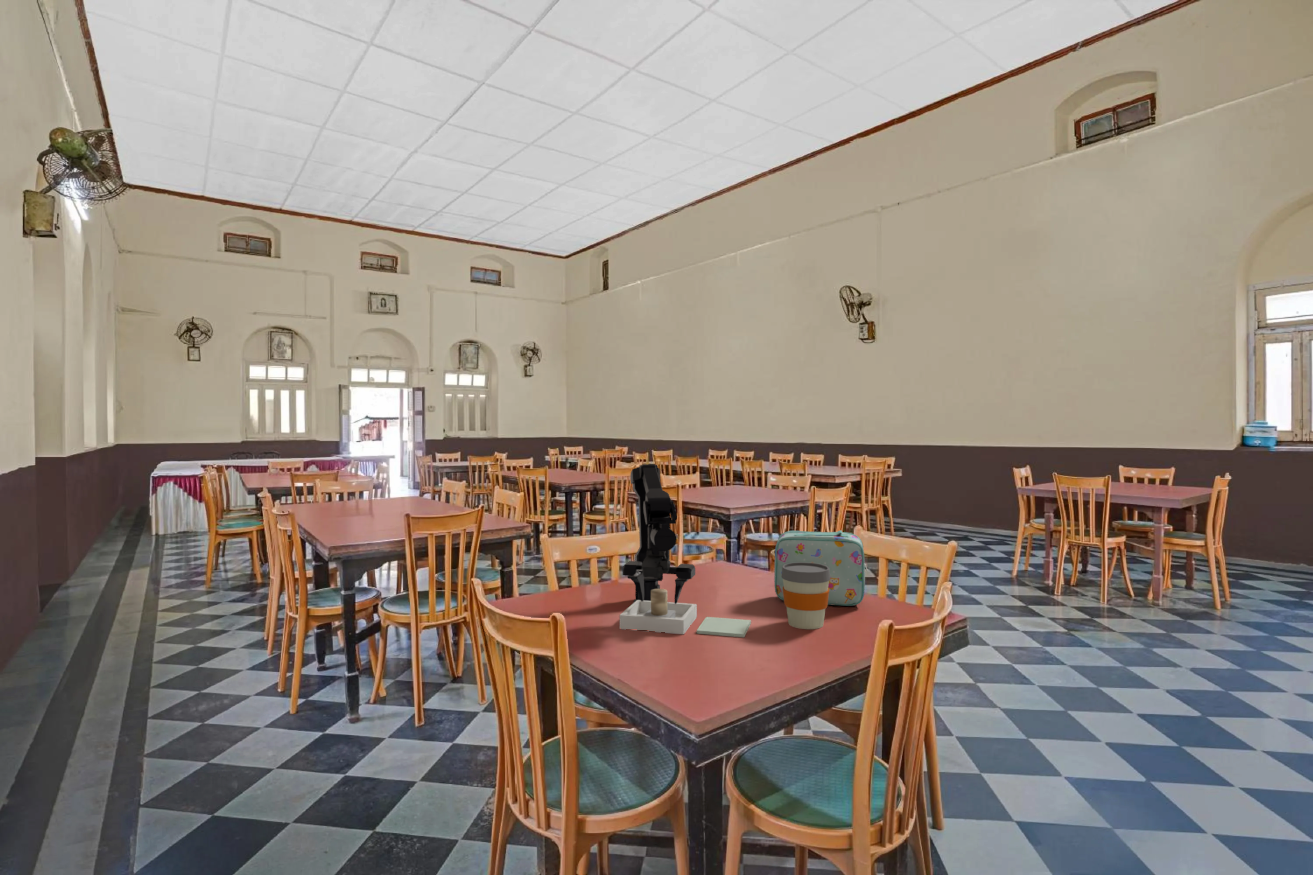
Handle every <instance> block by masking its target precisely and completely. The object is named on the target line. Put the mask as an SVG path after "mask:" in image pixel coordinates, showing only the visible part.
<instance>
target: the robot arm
mask: <svg viewBox="0 0 1313 875" xmlns="http://www.w3.org/2000/svg"><path fill="white" fill-rule="evenodd" d="M658 466H659V465H658V464H655V463H644V464H640V465H639V466H638V467H635V468H632V469H631V472H630V474H629V475H630V477H629V479H630V484H631V485H632V490H633V492H634V494H635V495H636V497H637V498H638V501H637V502H638V527H639V528H638V530H639V531H638V533H639V534H638V535H639V547H638V550H637V551H636V552H635V555H634V561H633V560H629V561H627V563H625V564H624V565H622V569H621V570H622V576H625V577H627V579H629V580H631V581H632V582H633V583H634V585H635V586H634V587H635V599H634V600H633V603H634V602H635V601H637V600H641V601H644V600H645V601H651V590H653V589H661V584H659V582H662V581H663V580H664V575H675V576H676V578H675V579H674V583H675V587H674V588H675V590H674V599H673V600H674V603H675V604H676V603H679V599H680V596H681V593H682V590H683V587H684V585H685V583H686V582H688V581H689V580H692V579H693V578H694V577H695V576H696V566H695V565H694V564H692V563H690V564H689V563H680V564H679V565H678V566H675V567H674V566H671V561H670V550H672V549H673V548H674V547H675V546H676V544H677V535H676V532H675V531H673V530H672V529H671V525H673V524H675V525H676V524H677V519H678V514H677V510H676V505H675V503H674V500H672V499H671V496H670V494H669V493H668V492H667V491H665V490H664V489H663V487H662V484H661V469H660V467H658Z"/></svg>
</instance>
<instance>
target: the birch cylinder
mask: <svg viewBox="0 0 1313 875" xmlns="http://www.w3.org/2000/svg"><path fill="white" fill-rule="evenodd" d="M667 602H668V590H667V589H665V588H660V589H653V590H651V614H652V615H656V616H662V615H666V614H667V613H668V609H667Z"/></svg>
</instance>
